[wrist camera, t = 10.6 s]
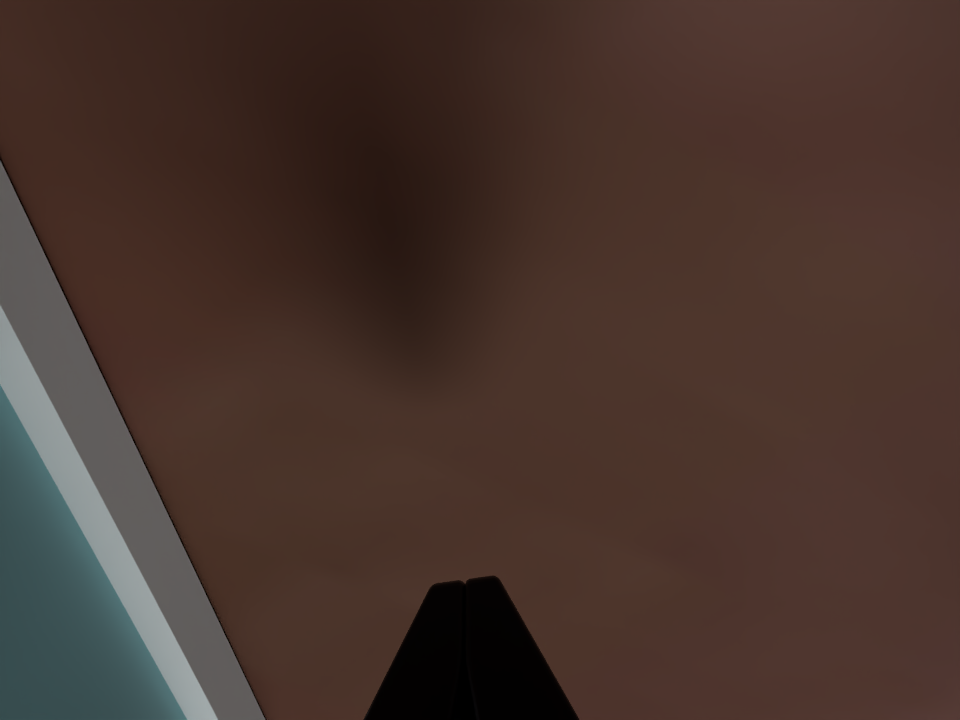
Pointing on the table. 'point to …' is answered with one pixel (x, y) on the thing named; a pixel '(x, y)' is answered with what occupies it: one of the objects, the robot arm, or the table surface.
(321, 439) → the table surface
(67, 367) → the board
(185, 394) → the table surface
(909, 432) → the table surface
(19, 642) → the teal notched block
